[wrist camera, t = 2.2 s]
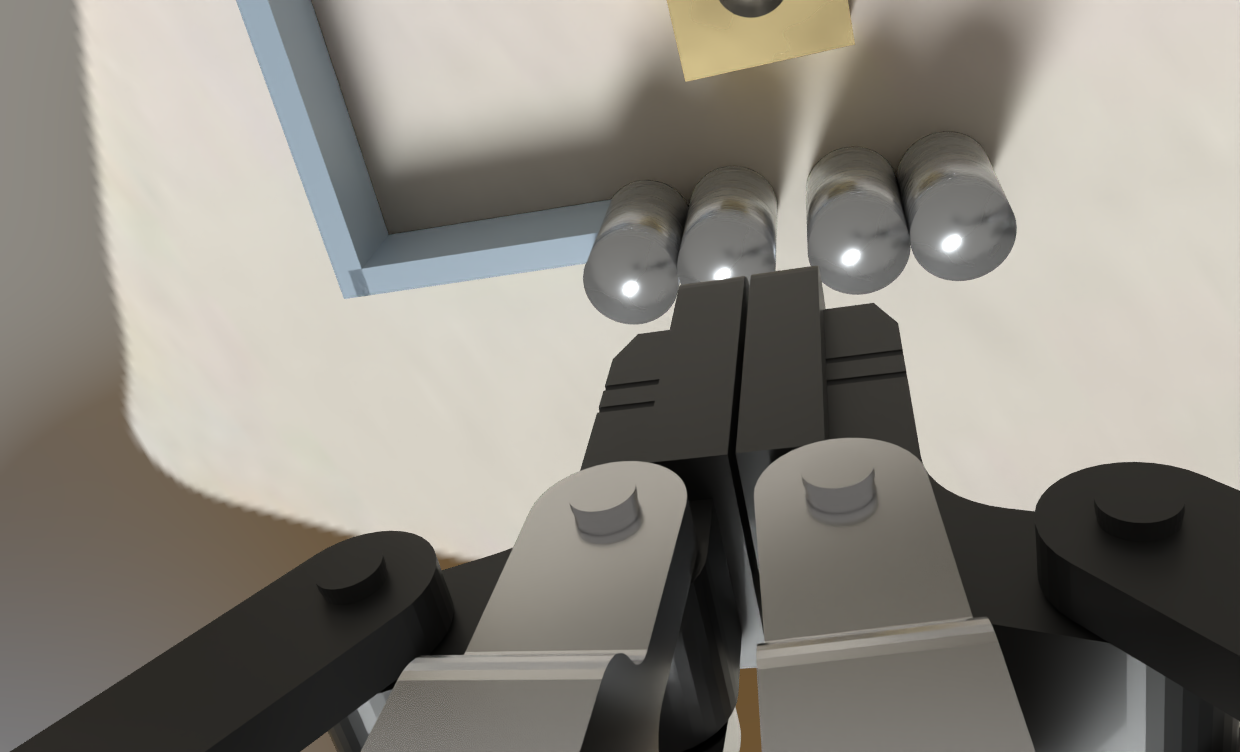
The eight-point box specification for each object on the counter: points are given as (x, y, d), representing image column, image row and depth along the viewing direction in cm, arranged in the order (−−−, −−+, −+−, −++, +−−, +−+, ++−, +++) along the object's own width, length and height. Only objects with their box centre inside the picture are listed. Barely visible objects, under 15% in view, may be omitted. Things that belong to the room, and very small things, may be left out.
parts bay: (503, -292, 32) (478, -293, 30) (620, 225, 40) (608, 259, 37) (207, -214, 34) (160, -210, 32) (371, 263, 42) (344, 298, 39)
